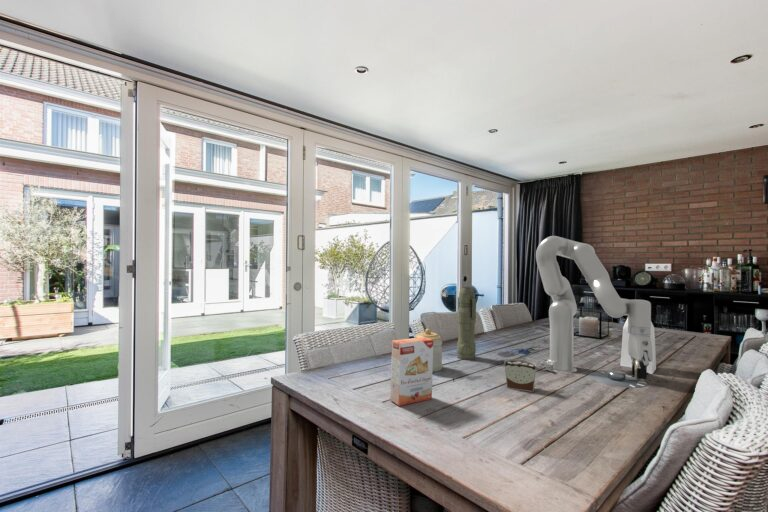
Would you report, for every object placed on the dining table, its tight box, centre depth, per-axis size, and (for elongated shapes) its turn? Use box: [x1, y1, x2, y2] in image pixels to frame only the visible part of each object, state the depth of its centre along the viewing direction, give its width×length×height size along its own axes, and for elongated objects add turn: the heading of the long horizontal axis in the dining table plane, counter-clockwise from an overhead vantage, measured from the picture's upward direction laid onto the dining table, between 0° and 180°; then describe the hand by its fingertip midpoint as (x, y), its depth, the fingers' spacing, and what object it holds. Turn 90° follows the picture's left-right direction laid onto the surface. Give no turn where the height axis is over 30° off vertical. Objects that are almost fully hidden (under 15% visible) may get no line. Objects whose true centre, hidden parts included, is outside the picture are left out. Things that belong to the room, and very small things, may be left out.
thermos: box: [456, 286, 477, 361], centre depth 184 cm, size 9×12×35 cm
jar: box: [414, 328, 443, 373], centre depth 165 cm, size 13×13×18 cm
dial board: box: [588, 371, 648, 389], centre depth 149 cm, size 20×20×1 cm
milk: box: [619, 317, 657, 375], centre depth 169 cm, size 12×12×26 cm
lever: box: [607, 359, 645, 381], centre depth 148 cm, size 13×6×8 cm, turn 74°
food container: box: [502, 358, 539, 392], centre depth 142 cm, size 12×6×10 cm, turn 65°
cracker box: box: [390, 337, 434, 407], centre depth 127 cm, size 14×6×21 cm, turn 121°
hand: (639, 376), depth 147 cm, fingers open, 3 cm apart
